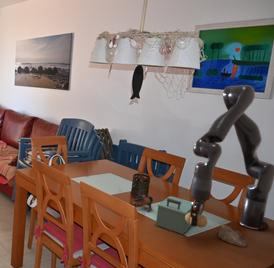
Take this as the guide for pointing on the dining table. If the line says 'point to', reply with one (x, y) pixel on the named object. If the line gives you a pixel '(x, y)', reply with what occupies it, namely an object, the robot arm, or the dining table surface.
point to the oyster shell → (230, 236)
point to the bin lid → (176, 205)
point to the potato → (200, 222)
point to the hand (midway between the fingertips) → (195, 223)
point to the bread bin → (172, 220)
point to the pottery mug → (148, 202)
